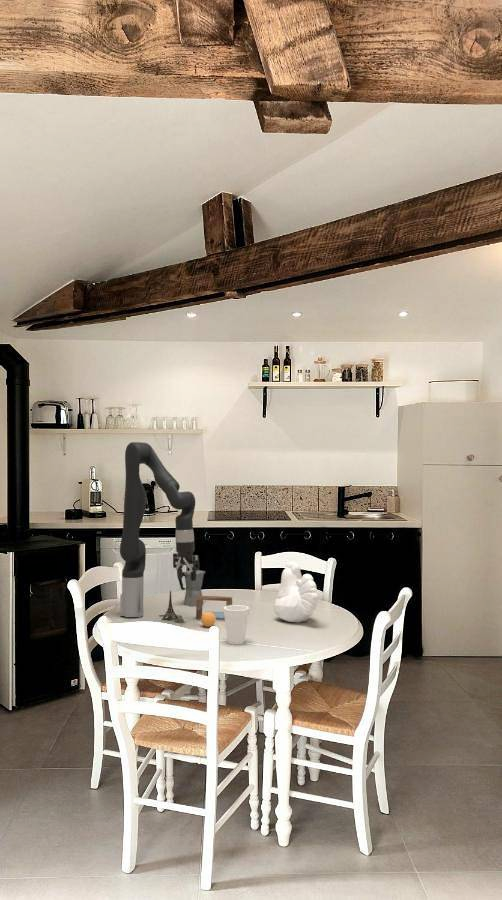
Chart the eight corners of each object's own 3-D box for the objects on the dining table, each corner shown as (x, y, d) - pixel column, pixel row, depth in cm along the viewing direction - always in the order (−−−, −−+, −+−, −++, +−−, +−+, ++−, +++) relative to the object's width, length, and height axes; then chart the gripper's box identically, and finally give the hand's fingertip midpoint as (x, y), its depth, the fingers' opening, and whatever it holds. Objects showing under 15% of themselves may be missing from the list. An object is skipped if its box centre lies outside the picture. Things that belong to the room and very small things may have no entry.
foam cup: (248, 639, 276) (248, 605, 276) (249, 645, 267) (249, 610, 267) (223, 638, 276) (223, 605, 276) (223, 645, 267) (223, 610, 266)
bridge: (230, 621, 304) (231, 598, 304) (196, 619, 306) (196, 597, 306) (232, 619, 307) (232, 596, 307) (197, 618, 309) (197, 595, 309)
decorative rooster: (269, 616, 313) (270, 559, 313) (303, 614, 317) (304, 558, 317) (288, 630, 289) (289, 569, 289) (325, 628, 293) (325, 567, 293)
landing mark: (201, 617, 309) (201, 617, 309) (207, 611, 321) (207, 611, 321) (228, 619, 307) (228, 618, 307) (233, 612, 319) (233, 612, 319)
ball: (199, 628, 292) (199, 613, 292) (202, 624, 298) (202, 610, 298) (214, 628, 291) (214, 614, 291) (216, 625, 297) (217, 610, 297)
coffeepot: (199, 600, 344) (199, 563, 344) (210, 604, 336) (211, 565, 336) (172, 604, 334) (172, 566, 334) (183, 608, 327) (183, 569, 327)
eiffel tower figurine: (185, 623, 300) (185, 592, 300) (160, 625, 298) (161, 592, 298) (181, 615, 315) (181, 585, 315) (158, 616, 313) (158, 585, 313)
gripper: (166, 540, 298) (168, 579, 298) (189, 542, 288) (190, 583, 288) (181, 538, 304) (182, 576, 304) (203, 540, 293) (205, 579, 294)
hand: (186, 579), depth 296 cm, fingers open, 8 cm apart
